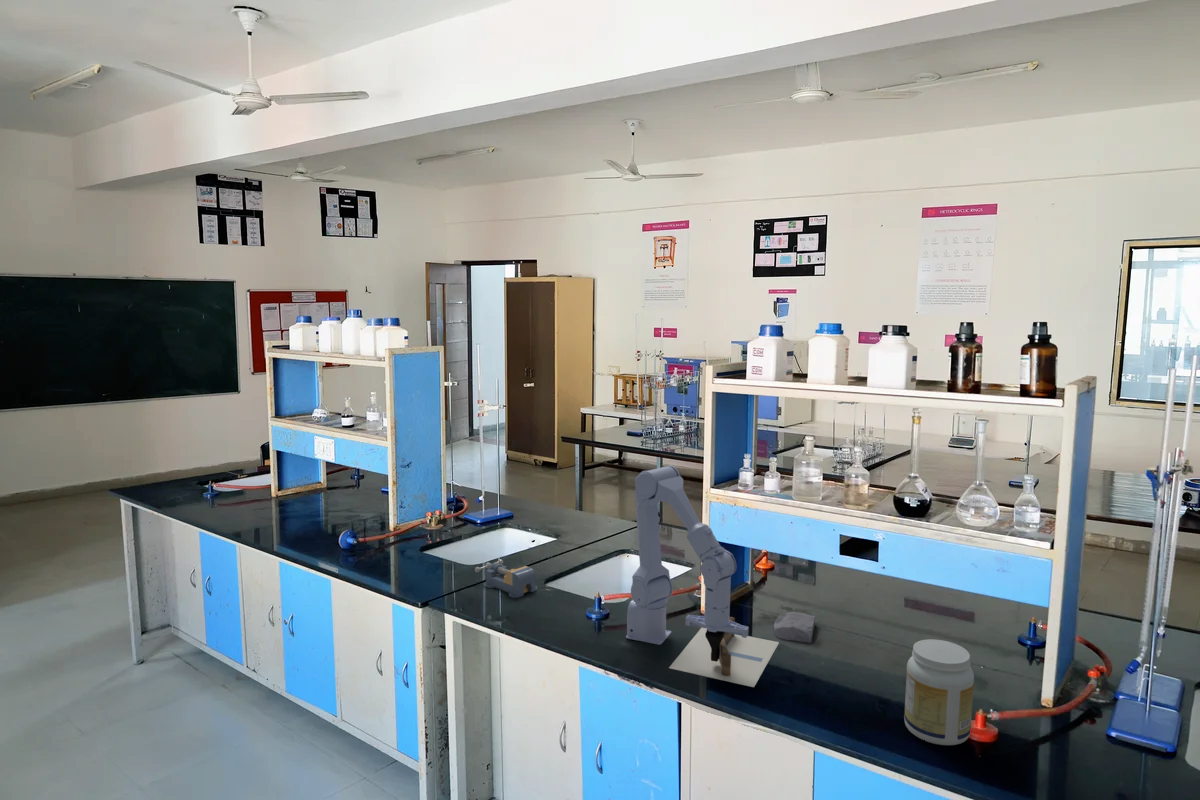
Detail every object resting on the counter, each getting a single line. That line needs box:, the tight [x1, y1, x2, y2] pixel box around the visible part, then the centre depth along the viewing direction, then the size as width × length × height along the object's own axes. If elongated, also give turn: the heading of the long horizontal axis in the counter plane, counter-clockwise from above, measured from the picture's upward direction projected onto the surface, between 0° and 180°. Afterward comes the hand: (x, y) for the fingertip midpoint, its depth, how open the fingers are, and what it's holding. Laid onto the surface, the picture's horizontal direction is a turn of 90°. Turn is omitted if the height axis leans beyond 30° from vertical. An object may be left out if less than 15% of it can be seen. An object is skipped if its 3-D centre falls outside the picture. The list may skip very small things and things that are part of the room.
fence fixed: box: [723, 616, 736, 644], centre depth 192 cm, size 2×12×5 cm, turn 154°
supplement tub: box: [903, 638, 975, 746], centre depth 154 cm, size 12×12×17 cm
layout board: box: [668, 627, 780, 688], centre depth 186 cm, size 20×24×1 cm
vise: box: [474, 558, 538, 599], centre depth 229 cm, size 18×10×7 cm, turn 48°
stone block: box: [773, 611, 816, 643], centre depth 199 cm, size 12×5×10 cm
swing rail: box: [719, 638, 731, 676], centre depth 182 cm, size 13×2×5 cm, turn 179°
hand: (715, 659), depth 181 cm, fingers closed, pressing on swing rail
